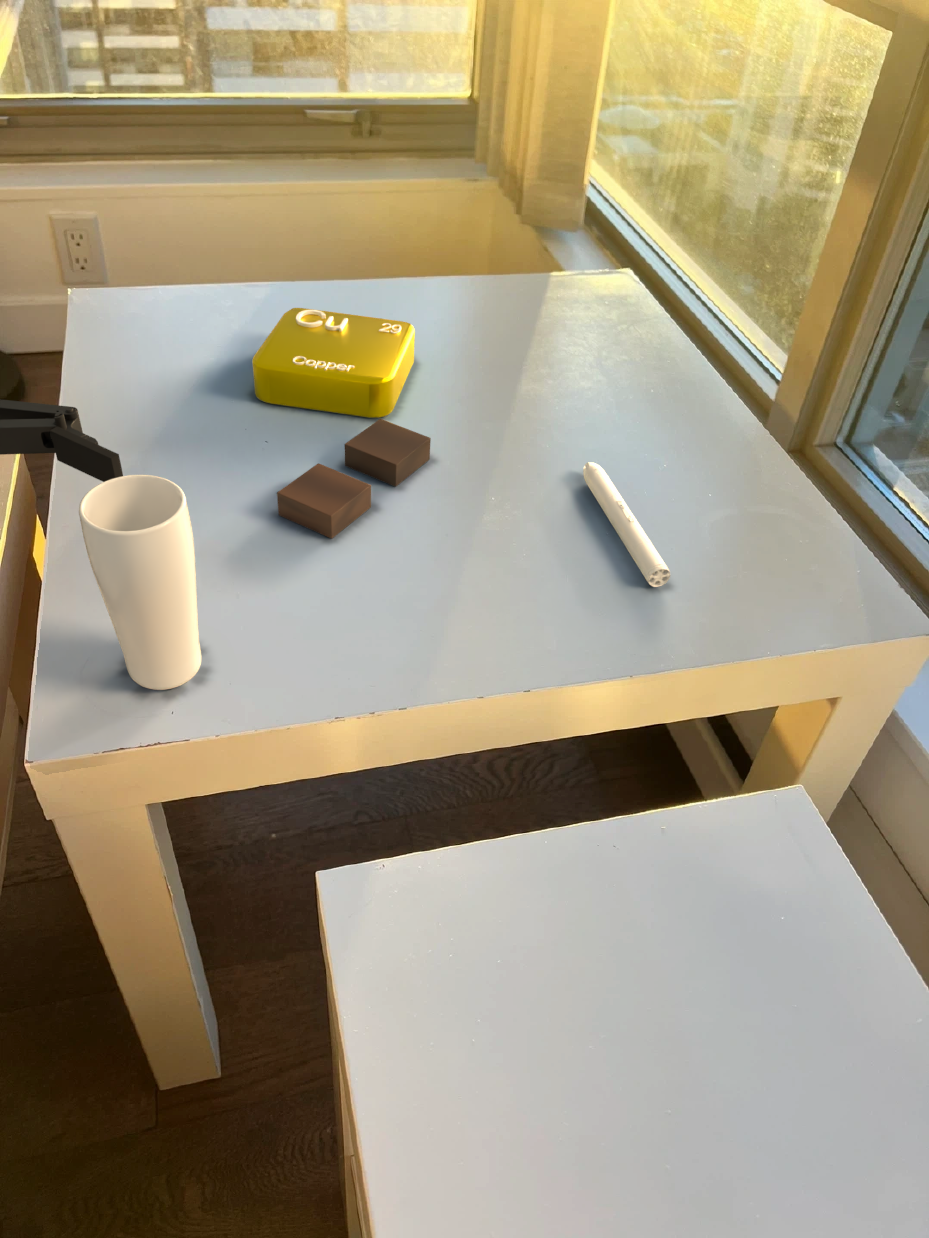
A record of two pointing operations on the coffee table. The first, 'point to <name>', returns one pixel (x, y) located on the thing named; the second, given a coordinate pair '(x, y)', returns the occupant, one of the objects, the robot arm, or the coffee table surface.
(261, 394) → the element tile
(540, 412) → the coffee table surface
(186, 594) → the drinking glass
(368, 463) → the walnut block far
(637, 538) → the marker
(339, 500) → the walnut block near
